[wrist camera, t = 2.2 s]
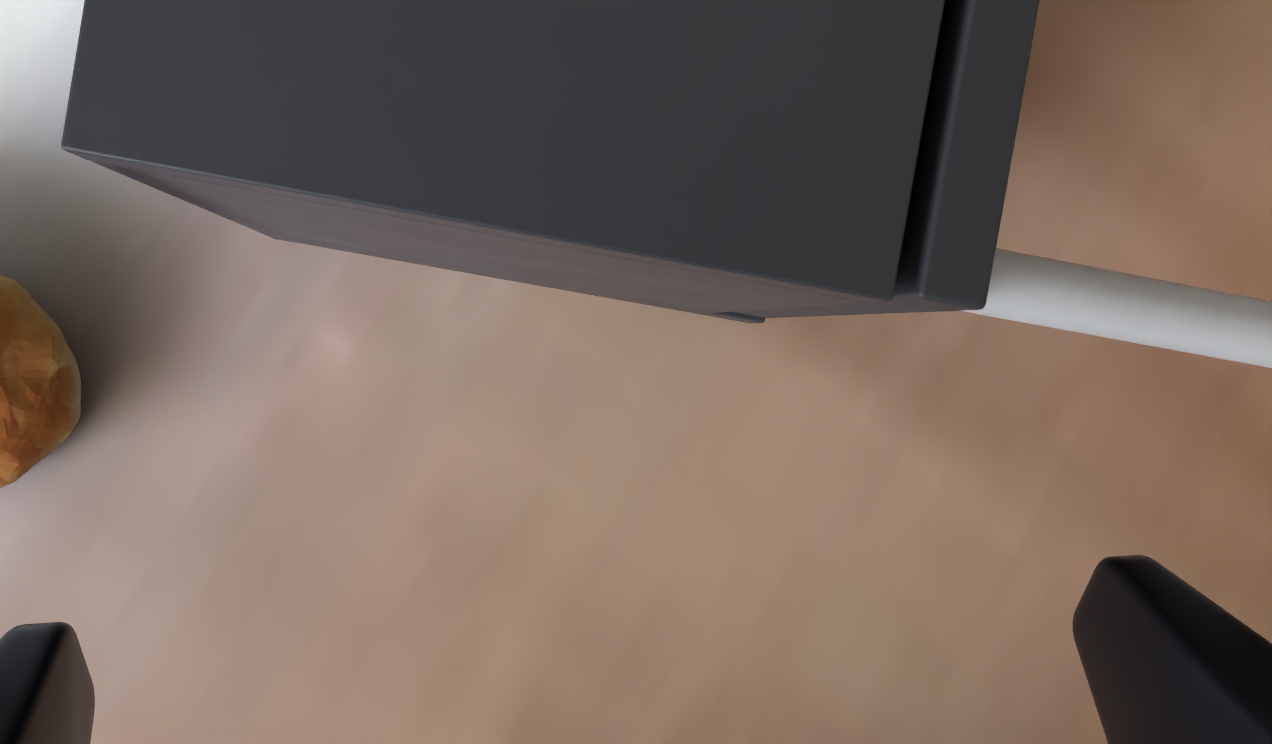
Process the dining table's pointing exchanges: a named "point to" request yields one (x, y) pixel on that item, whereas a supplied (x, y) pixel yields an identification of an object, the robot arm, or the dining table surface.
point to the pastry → (32, 383)
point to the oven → (534, 135)
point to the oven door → (972, 208)
